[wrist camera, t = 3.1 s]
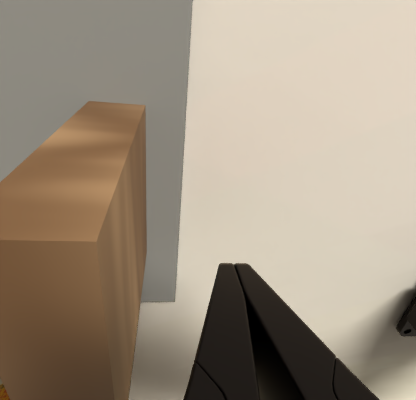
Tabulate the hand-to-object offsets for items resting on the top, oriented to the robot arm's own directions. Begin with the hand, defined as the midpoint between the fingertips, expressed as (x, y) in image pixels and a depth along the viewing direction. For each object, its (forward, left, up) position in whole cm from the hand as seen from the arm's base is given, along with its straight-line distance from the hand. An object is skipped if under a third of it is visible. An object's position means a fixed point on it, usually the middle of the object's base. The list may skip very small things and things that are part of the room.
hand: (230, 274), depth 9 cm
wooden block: (+4, 0, -5) cm, 6 cm away
